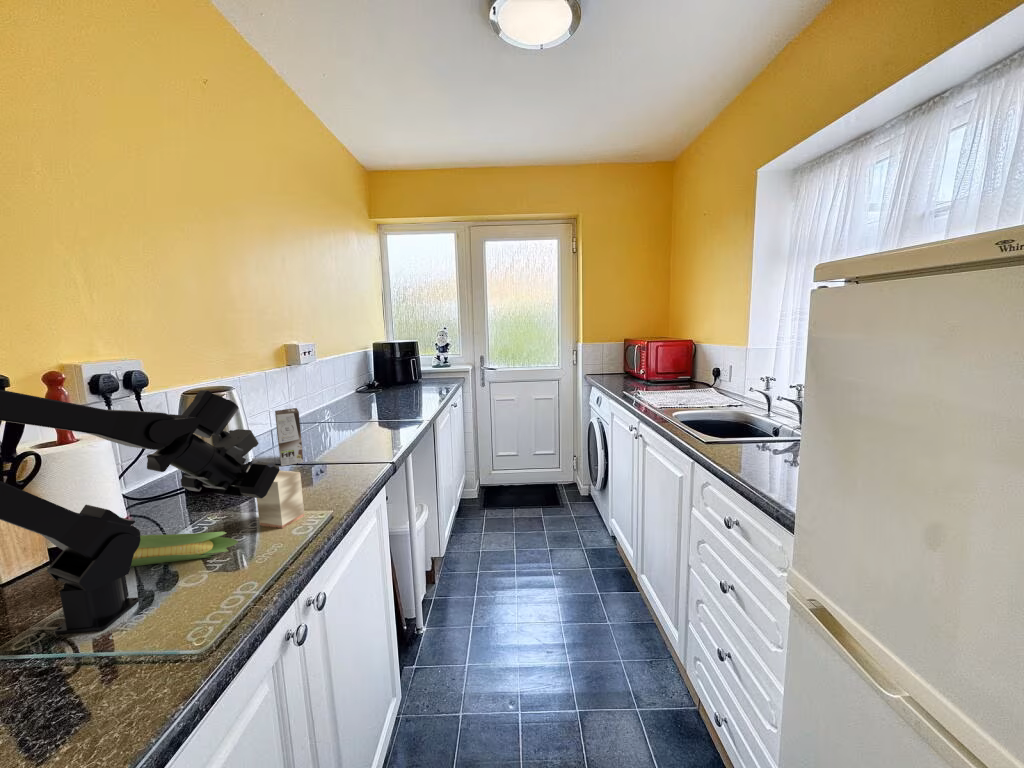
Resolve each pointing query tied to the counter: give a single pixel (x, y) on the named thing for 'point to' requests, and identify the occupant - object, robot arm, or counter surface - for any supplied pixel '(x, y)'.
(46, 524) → the robot arm
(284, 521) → the marked block
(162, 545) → the edible corn
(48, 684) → the counter surface
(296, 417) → the coffee box
